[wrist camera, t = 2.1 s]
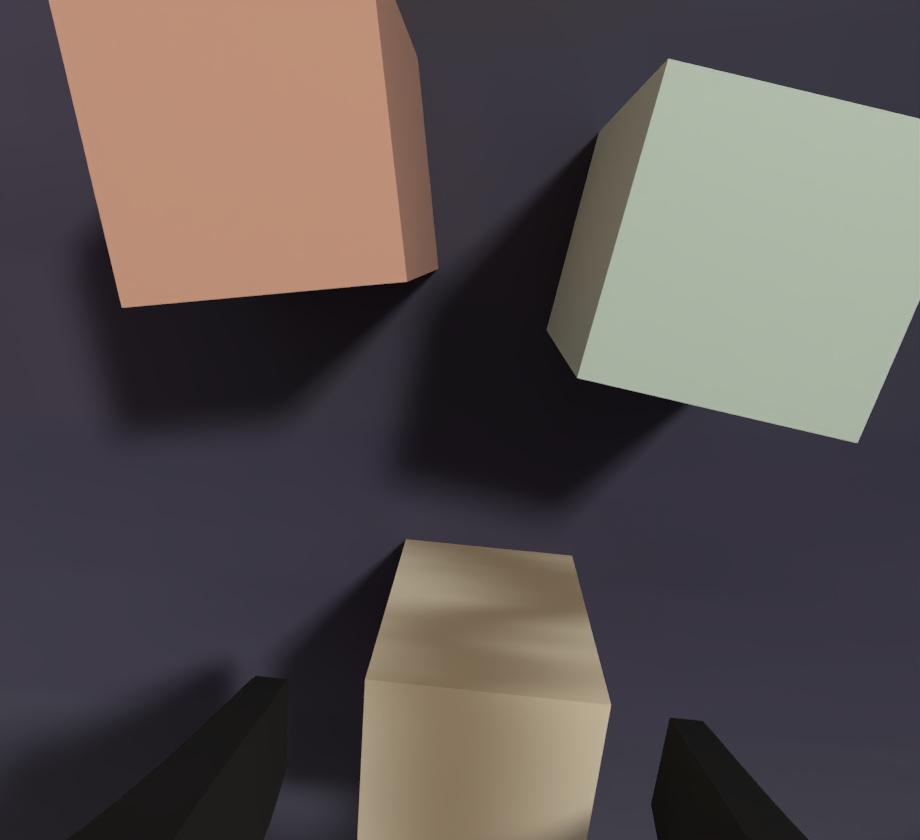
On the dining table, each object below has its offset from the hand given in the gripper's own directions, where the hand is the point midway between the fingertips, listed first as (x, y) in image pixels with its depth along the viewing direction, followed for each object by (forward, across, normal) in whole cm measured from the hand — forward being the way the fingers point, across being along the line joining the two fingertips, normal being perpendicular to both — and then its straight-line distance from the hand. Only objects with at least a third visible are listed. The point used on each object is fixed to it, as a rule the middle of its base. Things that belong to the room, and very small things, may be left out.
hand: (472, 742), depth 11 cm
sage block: (+4, -3, -9) cm, 10 cm away
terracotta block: (+4, +4, -10) cm, 11 cm away
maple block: (+4, 0, 0) cm, 4 cm away
